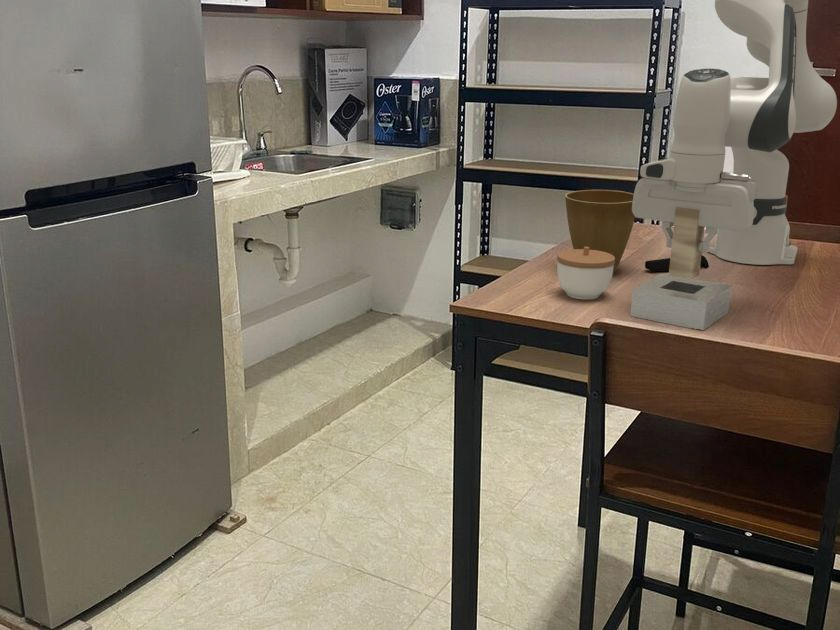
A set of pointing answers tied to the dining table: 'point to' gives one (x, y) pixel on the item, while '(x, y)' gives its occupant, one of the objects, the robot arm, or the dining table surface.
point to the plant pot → (600, 220)
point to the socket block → (681, 301)
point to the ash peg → (686, 244)
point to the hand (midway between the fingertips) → (686, 249)
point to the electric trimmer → (668, 264)
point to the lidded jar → (584, 272)
